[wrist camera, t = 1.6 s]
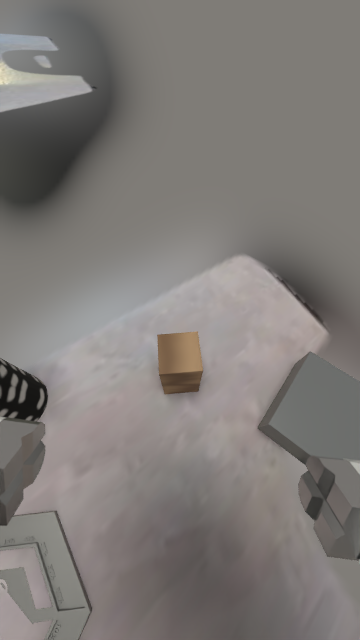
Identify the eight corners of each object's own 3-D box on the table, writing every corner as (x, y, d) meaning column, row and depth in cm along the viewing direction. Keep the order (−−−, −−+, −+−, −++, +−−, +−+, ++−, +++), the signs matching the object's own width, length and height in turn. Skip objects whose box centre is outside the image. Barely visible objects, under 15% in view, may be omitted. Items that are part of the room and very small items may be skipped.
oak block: (194, 359, 39) (197, 331, 30) (198, 391, 36) (203, 370, 28) (163, 362, 39) (157, 334, 30) (164, 394, 36) (159, 374, 27)
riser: (374, 413, 35) (401, 407, 30) (342, 494, 30) (370, 500, 26) (295, 363, 38) (310, 351, 34) (257, 428, 34) (268, 423, 29)
